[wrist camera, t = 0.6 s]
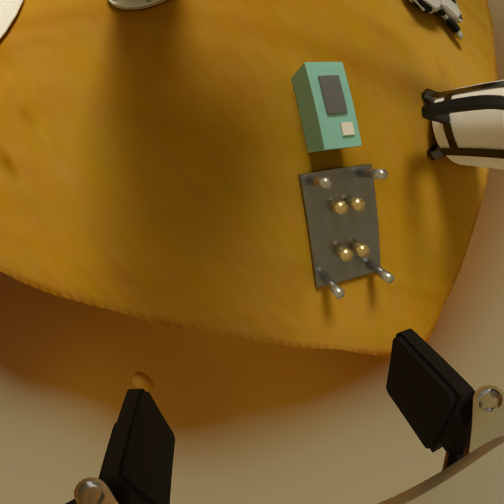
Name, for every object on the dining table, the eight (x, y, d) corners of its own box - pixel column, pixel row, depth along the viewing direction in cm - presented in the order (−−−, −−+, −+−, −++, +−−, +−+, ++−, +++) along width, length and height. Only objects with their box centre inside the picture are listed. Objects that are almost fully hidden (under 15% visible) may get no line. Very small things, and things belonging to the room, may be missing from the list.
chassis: (298, 174, 33) (313, 175, 28) (368, 164, 34) (391, 164, 28) (315, 285, 38) (329, 304, 32) (377, 268, 38) (398, 283, 33)
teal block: (291, 78, 30) (305, 61, 24) (324, 76, 30) (343, 61, 24) (307, 152, 33) (325, 149, 27) (340, 148, 33) (362, 145, 27)
